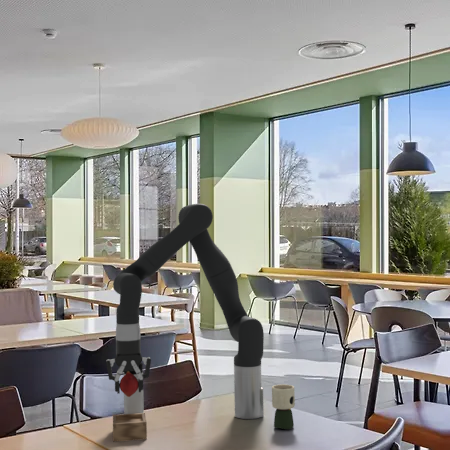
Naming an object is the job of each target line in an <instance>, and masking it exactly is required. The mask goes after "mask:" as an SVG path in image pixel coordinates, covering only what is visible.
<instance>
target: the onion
mask: <svg viewBox="0 0 450 450" xmlns="http://www.w3.org/2000/svg"><path fill="white" fill-rule="evenodd" d="M119 383H120V391H121V393H123V395H124V394H125V395H126V396H127V397H130V396H131V395H133V394H134V393H135V392H136V391H137V390H138V387H139V383H138V380H137V378H136V377H135V376H134V375H133V374H131V373H130V372H129V371H127V374H126V375H124V374H123V376H121V378H120V379H119Z"/></svg>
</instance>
